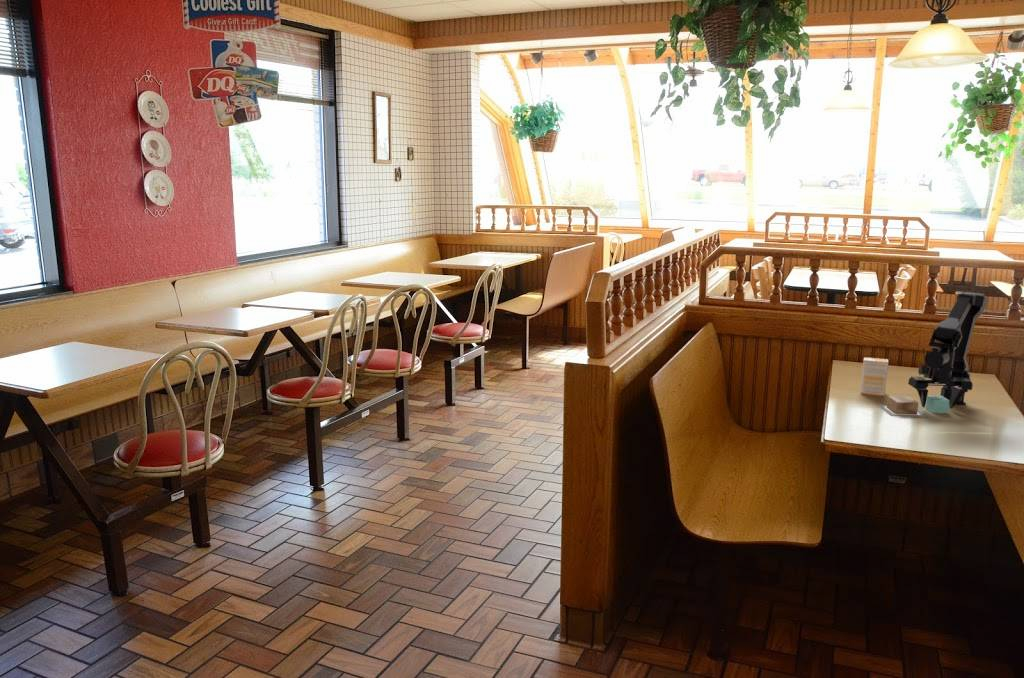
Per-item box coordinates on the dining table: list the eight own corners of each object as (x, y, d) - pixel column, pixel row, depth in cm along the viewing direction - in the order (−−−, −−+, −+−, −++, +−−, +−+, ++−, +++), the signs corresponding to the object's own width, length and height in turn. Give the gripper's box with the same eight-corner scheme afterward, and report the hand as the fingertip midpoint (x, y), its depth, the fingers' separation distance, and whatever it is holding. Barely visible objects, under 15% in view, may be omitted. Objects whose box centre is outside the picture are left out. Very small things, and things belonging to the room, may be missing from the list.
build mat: (911, 406, 274) (911, 405, 274) (927, 417, 262) (928, 416, 262) (876, 405, 274) (876, 404, 274) (890, 417, 263) (891, 415, 263)
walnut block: (907, 407, 271) (909, 396, 271) (916, 414, 265) (918, 402, 264) (886, 407, 272) (888, 395, 271) (895, 413, 265) (897, 402, 264)
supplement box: (884, 394, 288) (888, 359, 285) (884, 397, 284) (888, 362, 281) (860, 391, 292) (863, 356, 289) (859, 394, 287) (863, 359, 284)
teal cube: (940, 409, 271) (942, 395, 270) (947, 414, 266) (949, 400, 265) (925, 409, 271) (927, 395, 270) (932, 414, 266) (934, 400, 265)
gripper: (959, 357, 272) (953, 400, 276) (904, 356, 273) (898, 399, 277) (976, 365, 262) (969, 411, 265) (918, 364, 262) (912, 409, 266)
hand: (937, 407), depth 268 cm, fingers open, 9 cm apart
